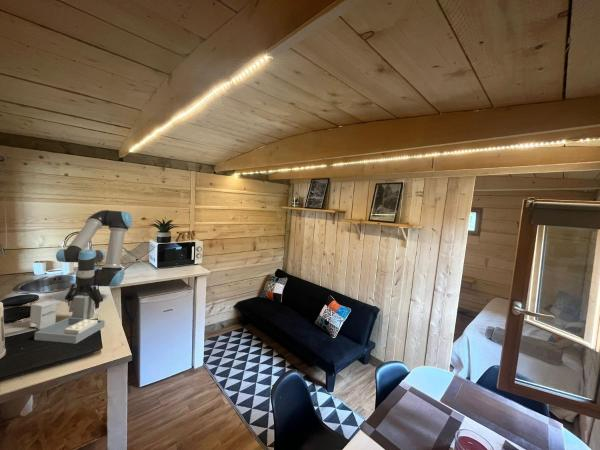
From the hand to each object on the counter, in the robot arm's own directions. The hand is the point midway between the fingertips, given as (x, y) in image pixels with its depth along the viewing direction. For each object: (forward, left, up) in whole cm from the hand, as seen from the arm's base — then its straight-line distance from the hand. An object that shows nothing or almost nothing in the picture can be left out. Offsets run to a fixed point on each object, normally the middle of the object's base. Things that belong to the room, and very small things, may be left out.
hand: (83, 312), depth 145 cm
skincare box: (0, 0, -5) cm, 5 cm away
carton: (+15, +12, -4) cm, 20 cm away
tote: (+15, +7, -5) cm, 17 cm away
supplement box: (+9, -14, -5) cm, 17 cm away
